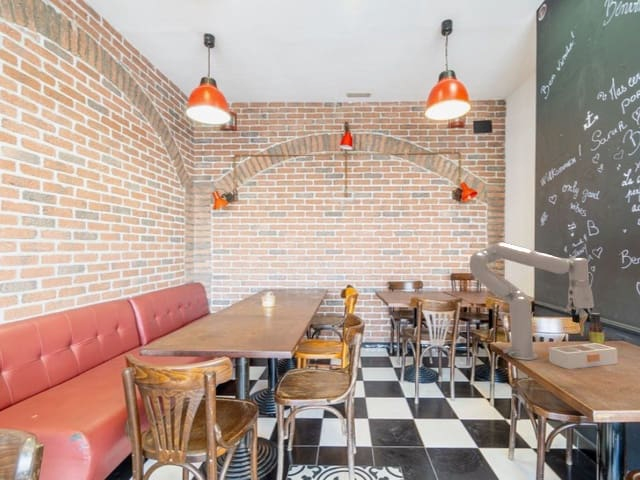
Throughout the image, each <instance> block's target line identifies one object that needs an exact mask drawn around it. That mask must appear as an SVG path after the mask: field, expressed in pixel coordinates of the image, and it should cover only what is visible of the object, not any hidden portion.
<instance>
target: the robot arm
mask: <svg viewBox="0 0 640 480" xmlns="http://www.w3.org/2000/svg"><path fill="white" fill-rule="evenodd" d="M499 260H506V261H510V262H514V263H517V264H521V265H525V266H527V267H532V268H536V269H541V270H543V271H547V272H551V273H553V274H556V275H557V274H558V275H563V274H564V275H565V274H566V273H568V279H569V282H568V285H569V286H568V292H567V305H566V306H565V307H566V309H567V310H568V311H569V312H570V314H571V319H572V320H571V321H572V323H575V324H579V322H580V321H579V315H578V311H579V309H582V308H583V309H584V310H585V311H586V313H587V314H588V317H587V319H586V321H585V322H587V323H591V316H590V313H592V310H593V309H594V308H595V303H594V297H593V296H594V295H593V291H592V287H591V286H590V280H589V279H590V278H589V275H590V274H589V262H588V259H587V258H585V257H572V258H571V257H570V258H565V257H564V258H563V257H558V256H554V255H550V254H547V253H542V252H539V251H536V250H534V249H531V248H528V247H525V246H524V247H523V246H520V245H516V244H513V243H508V242H505V241H498V242H496V243H495V244H493V245H491V246H489V247H486V248H483V249H480V250H478V251H476V252H474V253H473V254H471V256H470V259H469V270H470V272H471V274H472V276H473V277H474V278H475V279H476V280H477V281H478V282H480V283H481V284H482V285H483V286H484V287H486V288H487V290H489V291H490V292H491V293H493V294H494V295H495V296H496V298H497V297H498V298H501V299H502V300H503V301H504V302H506V303H507V304H509V322H510V343H511V344H510V345H511V346H509V348H508V349H503V350H502V351H503V354H508V356H509V357H511V358H513V359H517V360H521V361H533V360H536V359H538V355H537V354H536V353H534V344H533V341H534V340H533V339H534V338H533V323H532V301H531V299H530V297H529V296H528V295H527V294H526V293H525V292H524V291H522V290H521V289H520V288H518V287H517V286H516V285H514V283H512V282H511V281H509V280H508V279H505V278H502V277H501V276H499V275H498V274H496V273H495V272H494V271H493V270H491V268H489V267H488V265H489V264H492V263H494V262H496V261H499ZM585 322H584V323H585Z"/></svg>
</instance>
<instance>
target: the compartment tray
mask: <svg viewBox="0 0 640 480" xmlns="http://www.w3.org/2000/svg"><path fill="white" fill-rule="evenodd" d="M548 356H549V357H548V361H549V363H551V364H553V365H556V366H558V367H561V368H564V369H566V370H575V369H582V368H590V367H599V366H608V365H618V361H619V360H618V348H616V347H612V346H608V345H606V344H605V345H601V344H598V343H591V344H590V343H582V344H574V345H565V346H563V345H562V346H554V347H553V346H552V347H548Z"/></svg>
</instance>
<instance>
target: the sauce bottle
mask: <svg viewBox="0 0 640 480" xmlns="http://www.w3.org/2000/svg"><path fill="white" fill-rule="evenodd" d="M588 328H589V331H588V333H589V344H591V343H598V344H601V345H605V346H606V336H605V328H604V326H603V324H602V321H601V313H599V312H591V313H590V324H589V325H588Z"/></svg>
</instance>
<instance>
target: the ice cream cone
mask: <svg viewBox="0 0 640 480" xmlns="http://www.w3.org/2000/svg"><path fill="white" fill-rule="evenodd" d="M578 315H579V321H580V322H579V323H578V326H579V331H580V337H584V329H585V321H586V319H587V317H588V314H587V313H586V311H585V310H584V309H583V308H582V309H579V311H578Z"/></svg>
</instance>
